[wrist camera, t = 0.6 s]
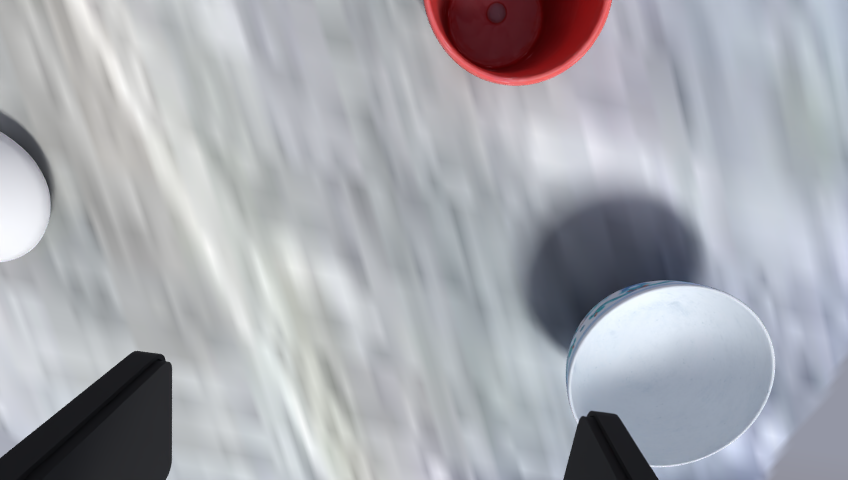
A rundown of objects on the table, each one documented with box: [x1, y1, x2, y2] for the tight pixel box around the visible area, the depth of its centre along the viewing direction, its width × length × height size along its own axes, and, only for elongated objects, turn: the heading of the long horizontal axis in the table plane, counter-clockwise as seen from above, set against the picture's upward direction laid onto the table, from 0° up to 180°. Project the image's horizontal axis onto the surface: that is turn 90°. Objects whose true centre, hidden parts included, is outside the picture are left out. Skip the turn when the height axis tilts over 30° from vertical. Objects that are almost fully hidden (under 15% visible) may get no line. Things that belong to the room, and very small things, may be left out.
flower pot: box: [423, 0, 612, 86], centre depth 31 cm, size 11×11×10 cm
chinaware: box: [566, 280, 775, 467], centre depth 38 cm, size 15×15×8 cm
